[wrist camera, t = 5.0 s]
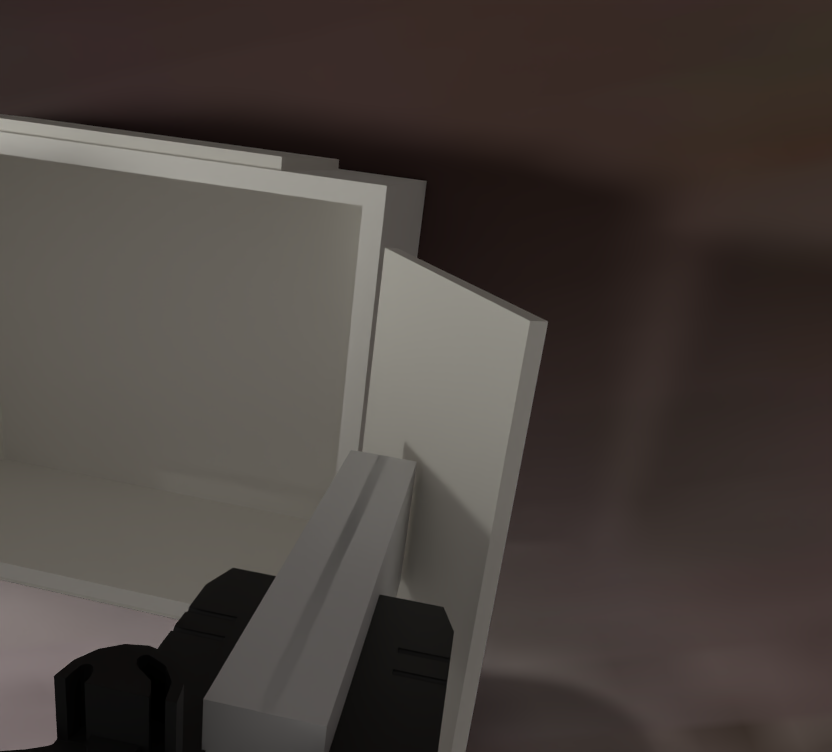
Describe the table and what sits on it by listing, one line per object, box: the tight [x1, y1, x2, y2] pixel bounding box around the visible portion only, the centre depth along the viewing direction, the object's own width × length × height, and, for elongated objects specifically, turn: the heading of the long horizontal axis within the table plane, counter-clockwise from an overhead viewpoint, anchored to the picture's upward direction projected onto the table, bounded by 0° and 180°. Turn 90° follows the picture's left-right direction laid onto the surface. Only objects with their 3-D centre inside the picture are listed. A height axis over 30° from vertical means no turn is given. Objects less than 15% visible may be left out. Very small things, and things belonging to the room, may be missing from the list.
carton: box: [0, 114, 427, 620], centre depth 21 cm, size 15×13×6 cm
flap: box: [362, 248, 548, 752], centre depth 14 cm, size 6×10×1 cm
